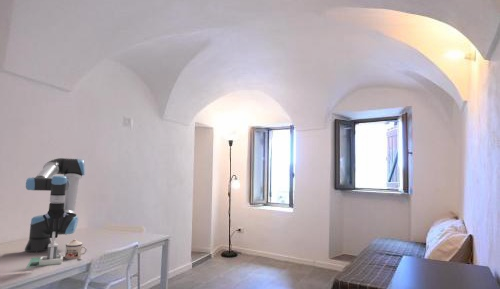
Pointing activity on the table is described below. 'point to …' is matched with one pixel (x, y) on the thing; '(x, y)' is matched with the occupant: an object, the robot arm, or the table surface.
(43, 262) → the header
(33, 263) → the board
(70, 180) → the robot arm
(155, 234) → the table surface
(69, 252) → the teacup with lid
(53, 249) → the plug
